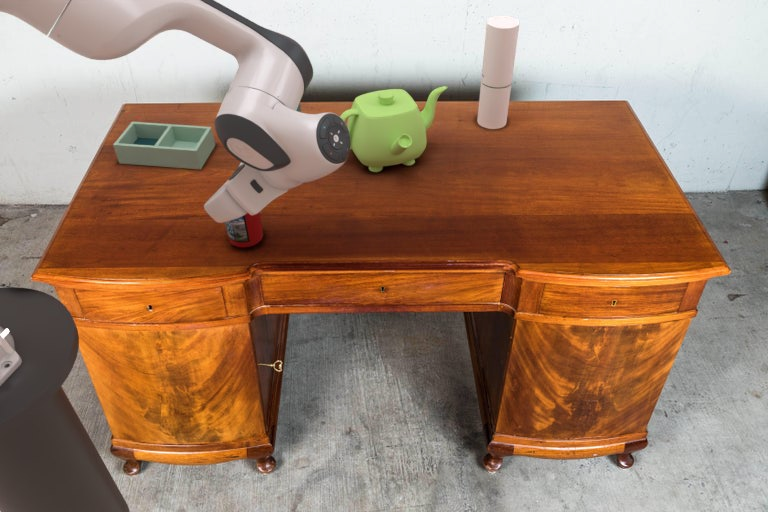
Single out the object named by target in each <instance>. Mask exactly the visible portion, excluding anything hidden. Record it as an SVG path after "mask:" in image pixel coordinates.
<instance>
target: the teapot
mask: <svg viewBox="0 0 768 512" xmlns="http://www.w3.org/2000/svg"><path fill="white" fill-rule="evenodd" d="M447 89H448V86H447V85H442V86H439V87H436V88H434V89H433V90H431V92H430V93H429V95H428V97H427V100H426V103H425V105H424V108H423V109H422V110H421V111H420V109H419V107H418V104H417V103H416V101H415V100H414V98H413V97H412V96H411V94H409V93H408V91H406V90H405V89H402V88H390V89H389V88H388V89H381V90H375V91H371V92H370V91H369V92H367V93H363V94H361V95H358V96H356V97H355V99H354V100H353V102H352V105H351V108H349V109H346V110H344V111H343V112H342V113H341V114H340V115H339V116H340V117H341V118H342V119H343V121H344V122H345V123H346V125H347V127H348V130H349V133H350V138H351V147H350V151H352V152H353V153H354V155H355V156H356V158H357V159H358V161H359V162H360V163H361V164H362V165H363V166H366V167H368V170H369V171H370V172H372V173H378V172H381V171H382V170H383V169H384V167H389V166H395V165H400V164H402V165H404V166H412V165H414V164H415V163H416V161H415V160H416V159H418V158H420V156H422V154H423V153H424V151H425V150H426V147H427V143H428V141H427V130H429V128H430V127H431V126H432V124H433V122H434V119H435V113H436V107H437V102H438V99H439V97H440V95H441V94H443V93H444V92H445V91H447ZM346 120H347V122H346Z"/></svg>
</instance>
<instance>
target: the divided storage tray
mask: <svg viewBox="0 0 768 512" xmlns="http://www.w3.org/2000/svg"><path fill="white" fill-rule="evenodd" d="M215 141H216V140H215V136H214V133H213V128H212V126H203V125H202V126H201V125H188V124H174V123H159V122H143V121H131V122H130V123H129V125H128V126H127V127H126V128H125V130H123V132H122V133H121V135H120V136H119V137H118V138H117V139H116V140H115V142H114V143H113V144H112V146H113V149H114V152H115V155H116V158H117V160H118V164H122V165H134V166H149V167H162V168H175V169H188V170H189V169H190V170H191V169H192V170H202V169H203V167H204V166H205V164H206V162H207V160H208V158H209V157H210V155H211V154H212V152H213V150H214V149H215V147H216V142H215Z"/></svg>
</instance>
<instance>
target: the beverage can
mask: <svg viewBox="0 0 768 512" xmlns="http://www.w3.org/2000/svg"><path fill="white" fill-rule="evenodd" d="M261 218H262V217H261V211H260V212H259V213H257V214H255V215H250V214H249V213H247V214H245V215H244V216H242V217H240V218H237V219H234V220H231V221H227V222H224V224H225V229H226V233H227V237H228V241H229V243H230V244H231V245H232V246H235V247H238V248H249V247H253V246H256V245H257V244H259V242H261V241H262V239H263V237H264V230H263V223H262V219H261Z"/></svg>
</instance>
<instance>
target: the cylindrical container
mask: <svg viewBox="0 0 768 512" xmlns="http://www.w3.org/2000/svg"><path fill="white" fill-rule="evenodd" d="M519 31H520V20H519V19H518V18H516V17H514V16H510V15H503V14H501V15H500V14H499V15H493V16H490V17H489V18H487V20H486V26H485V35H484V48H483V56H482V57H483V58H482V68H481V77H480V88H479V99H478V110H477V119H476V122H477V124H478V125H479V126H480V127H482V128H485V129H488V130H497V129H502V128H504V127H505V126H506V125H507V123H508V122H507V121H508V114H509V106H510V98H511V92H512V91H511V90H512V84H513V75H514V67H515V60H516V53H517V45H518V37H519Z"/></svg>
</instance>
